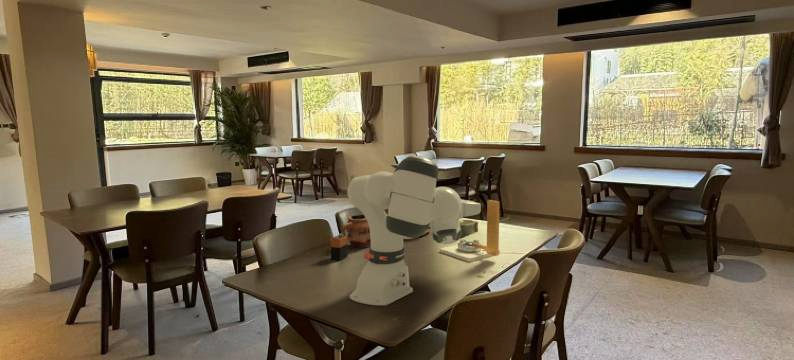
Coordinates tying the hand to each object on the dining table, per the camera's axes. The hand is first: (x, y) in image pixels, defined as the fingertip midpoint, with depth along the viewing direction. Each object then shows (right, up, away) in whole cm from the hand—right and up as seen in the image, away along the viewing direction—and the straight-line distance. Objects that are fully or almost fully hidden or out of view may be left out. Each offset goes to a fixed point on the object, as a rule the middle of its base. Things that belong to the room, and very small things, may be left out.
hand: (472, 202), depth 179 cm
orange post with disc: (+5, -21, +15) cm, 27 cm away
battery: (-53, -24, +13) cm, 60 cm away
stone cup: (-17, -18, +52) cm, 58 cm away
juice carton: (+3, -19, +52) cm, 55 cm away
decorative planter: (-46, -22, +31) cm, 60 cm away
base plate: (+2, -22, +19) cm, 30 cm away
